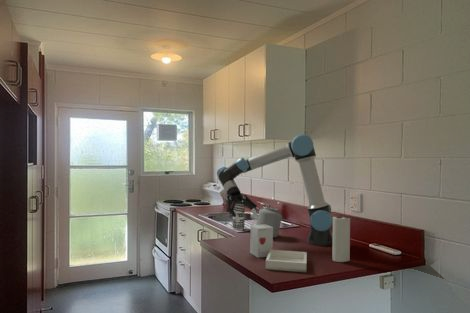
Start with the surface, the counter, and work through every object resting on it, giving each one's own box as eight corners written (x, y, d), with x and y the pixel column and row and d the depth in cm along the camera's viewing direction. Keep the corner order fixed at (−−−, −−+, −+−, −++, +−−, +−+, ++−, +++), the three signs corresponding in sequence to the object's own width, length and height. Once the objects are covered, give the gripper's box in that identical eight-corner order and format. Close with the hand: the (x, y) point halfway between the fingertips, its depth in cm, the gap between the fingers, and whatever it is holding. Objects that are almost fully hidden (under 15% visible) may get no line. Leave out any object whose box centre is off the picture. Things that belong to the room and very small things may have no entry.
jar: (279, 233, 225) (279, 195, 225) (288, 238, 211) (288, 198, 211) (252, 234, 220) (252, 196, 220) (259, 240, 206) (260, 199, 206)
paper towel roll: (330, 260, 166) (330, 217, 166) (336, 258, 171) (336, 215, 171) (343, 263, 161) (344, 219, 161) (349, 261, 165) (350, 217, 165)
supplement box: (257, 258, 169) (257, 228, 169) (249, 253, 177) (249, 224, 177) (273, 256, 173) (273, 226, 173) (264, 251, 181) (265, 223, 181)
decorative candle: (229, 228, 237) (229, 193, 237) (239, 226, 243) (239, 192, 243) (237, 230, 230) (238, 194, 230) (247, 229, 236) (248, 193, 236)
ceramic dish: (306, 260, 166) (306, 252, 166) (306, 272, 149) (306, 263, 149) (270, 257, 170) (270, 249, 170) (265, 269, 153) (265, 260, 153)
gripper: (245, 192, 205) (262, 221, 193) (211, 195, 190) (227, 226, 178) (251, 184, 201) (268, 213, 189) (217, 186, 185) (233, 218, 174)
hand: (248, 220), depth 183 cm, fingers open, 13 cm apart
